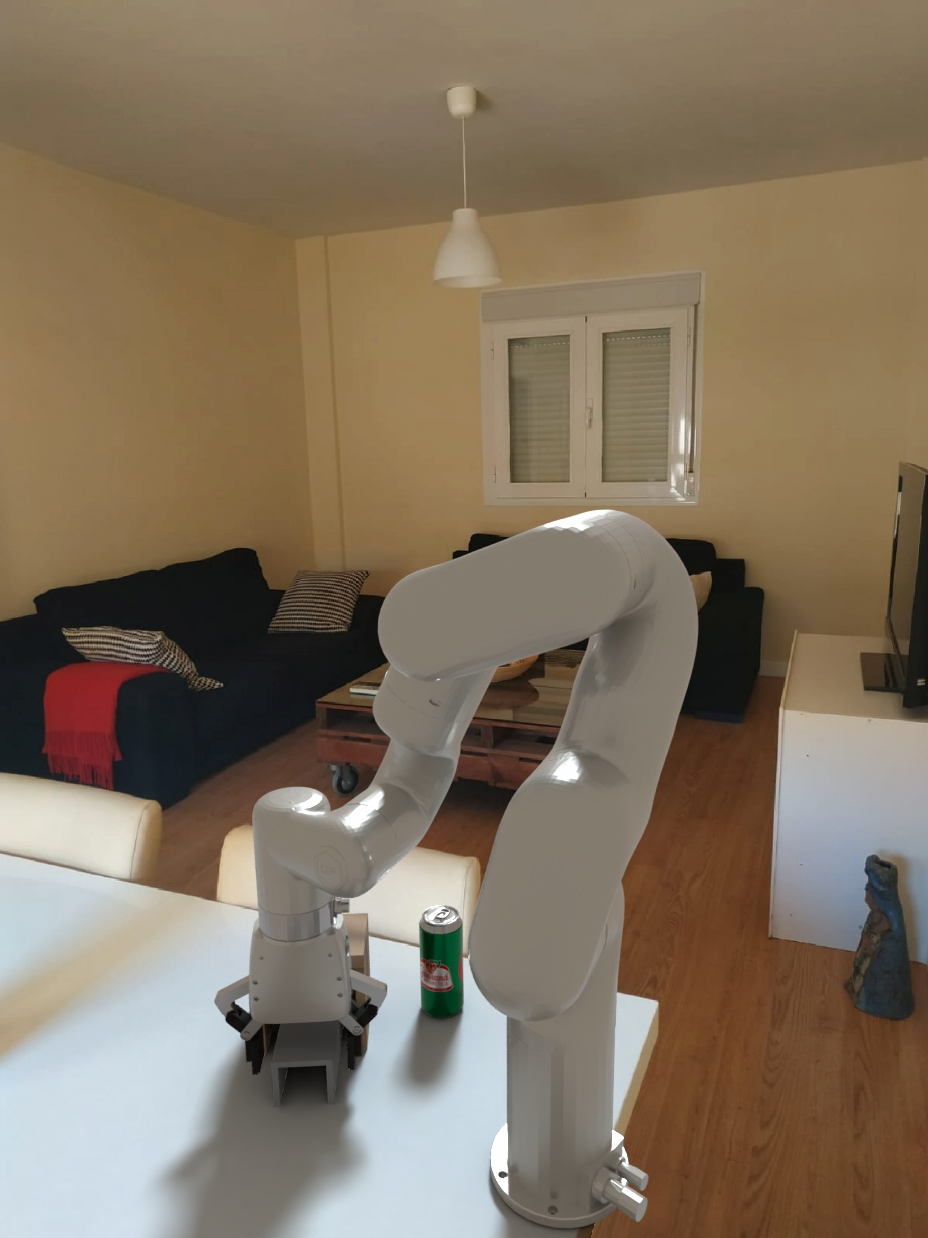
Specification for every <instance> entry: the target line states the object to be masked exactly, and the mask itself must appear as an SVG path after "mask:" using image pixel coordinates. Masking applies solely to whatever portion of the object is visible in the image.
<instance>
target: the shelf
mask: <svg viewBox="0 0 928 1238" xmlns="http://www.w3.org/2000/svg"><path fill="white" fill-rule="evenodd" d="M342 915H343V918H344V921H345V925H346V929H347V933H348V939H349V945H350V952H351V962H352V970H354V971H357V972H359V973H362V974H364V975H366V976H369V977H371V962H370V960H371V959H370V956H371V955H370V935H369V934H370V933H369V932H370V931H369V912H365V913H364V912H361V913H360V912H359V913H342ZM351 998H352V999H353V1000H354V1001H355V1002H356V1003H357V1004H358V1005H359V1006H360V1007H361V1006H362V1005H363V1004H364V1003H365V1002H366V1001H367V1000H368V999H369V998H370V996H369V995H366V994H364V993H361V992H359V991H356V990H354V989H353V993H352V995H351ZM274 1025H275V1024H263V1038H264V1055H267V1054H268V1049H269V1046H270V1042H271V1036H272V1033H273V1029H274ZM369 1034H370V1022H369V1023H368V1024H367V1025H366V1026H365V1027H364V1028H363V1032H362V1051H363V1050H368V1046H369V1045H368V1044H369Z"/></svg>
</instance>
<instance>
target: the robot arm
mask: <svg viewBox="0 0 928 1238" xmlns="http://www.w3.org/2000/svg"><path fill="white" fill-rule="evenodd" d="M696 599H697V598H696V594H695V590H694V587H693V583H692V580H691V578H690V575H689V573H688V570H687V568H686V566H685V564H684V562H683V560H681V557H680V556H679V554H678V553H677V551H676V550H675V549H674V548H673V546H672V545H671V544H670V543H669V542H668V541H667V540H666V538H665V537H664V536H663V535H662V534H661V533H659V532H658V531H657V530H656V529H655V528H653V526H651V525H650V524H648V522H646V521H644V520H642V519H641V518H639V517H637V516H634V515H632V514H630V513H626V512H625V511H619V510H614V509H597V510H596V509H595V510H590V511H586V512H585V511H584V512H582V513H577V514H574V515H572V516H569V517H568V516H567V517H565V518H561V519H557V520H553V521H550V522H547V523H545V524H541V525H539V526H536V527H534V528H531V529H529V530H526V531H524V532H523V531H522V532H521V533H518V534H516V535H512V536H510V537H508V538H506V539H503V540H501V541H497V542H496V543H493V544H490V545H488V546H484V547H482V548H479V549H476V550H475V551H472V552H470V553H467V554H464V555H462V556H460V557H457V558H454V559H451V560H448V561H445V562H442V563H440V564H436V565H433V566H429V567H426V568H423V569H419V570H417V571H414V572H412V573H410V574H408V575H406V576H403V578H402V579H400V580H399V581H398V582H397V583H395V585H394V586H393V587H392V588H391V589H390V590H389V592H388V593H387V595H386V597H385V599H384V600H383V603H382V605H381V608H380V610H379V611H380V612H379V614H378V620H377V621H378V622H377V634H378V640H379V644H380V645H379V646H380V647H381V650H382V652H383V654H384V656H385V658H386V659H387V661H388V663H389V664H390V665H389V667H388V669H387V671H386V673H385V675H384V677H383V679H382V681H381V684H380V686H379V688H378V690H377V692H376V694H375V697H374V700H373V703H372V715H373V717H374V720H375V723H376V724H377V726H378V727H379V729H380V730H381V731H382V732H383V733H384V734H385V735H386V736H388V737H389V738H390V741H389V744H388V747H387V750H386V752H385V754H384V756H383V759H382V761H381V763H380V765H379V767H378V769H377V772H376V774H375V775H374V778H373V780H372V781H371V783H370V784H369V785H368V787H367V788H366V789H365V790H363V791H362V792H361V793H360V792H359V794H358V795H356V796H355V797H354V798H352V799H351V800H349V801H348V802H347V803H346V804H344V805H342V806H341V807H339V808H336V809H333V810H332V811H331V805H330V802H329V800H328V798H327V796H326V795H325V794H324V793H323V792H321V791H319V790H318V789H314V788H311V787H308V786H307V787H306V786H289V787H281V788H278V789H274V790H271V791H269V792H267V793H266V794H264V795H262V796H261V797H260V798H258V800H256V803H255V804H254V807H253V810H252V816H251V817H252V818H251V819H252V820H251V821H252V833H253V834H252V836H253V850H254V852H253V853H254V865H255V866H254V867H255V882H256V898H257V912H258V917H257V918H256V919H255V921H254V923H253V927H252V934H251V942H250V951H249V964H248V965H249V966H248V967H249V970H248V975H246V976H244V977H242V978H241V979H239V980H236V981H235V982H233V983H231V984H229V985H227V986H225V987H223V988H221V989H219V990H218V991H217V992H216V994H215V998H214V1001H213V1002H214V1004H215V1006H216V1008H218V1010H219V1012H220V1013H221V1015H222V1016H224V1021H225V1023H226V1024H228V1025H229V1026H230V1027H231V1028H232V1029H234V1030H235V1031H236V1032H238V1033H239V1036H240V1039H241V1040H242V1041H244V1050H245V1061H246V1063H251V1074H252V1076H258V1075H259V1074H261V1071H262V1066H263V1061H264V1058H265V1054H264V1038H263V1024H274V1025H275V1024H276V1025H279V1024H281V1023H304V1022H323V1021H335V1020H339V1021H340V1022H341V1023H342V1024H343V1025H344V1026H343V1027H345V1028H346V1029H347V1030H346V1037H345V1038H346V1039H345V1040H346V1059H347V1060H346V1061H347V1064H346V1065H347V1070H349V1071H355V1069H356V1059H357V1058H358V1057H359V1058H360V1057H361V1058H362V1056H363V1050H362V1032H363V1028H364V1027H365V1026H366V1025H367V1024H368V1023H369V1024H370V1022H372V1021H373V1019H375V1018H376V1017H377V1015H378V1012H379V1010H380V1008H381V1007H382V1005H383V1004H384V1001H385V999H386V998H387V995H388V984H387V983H385V982H383V981H381V980H379V979H376V978H373V977H371V976H370V977H369V976H366V975H364V974H362V973H359V972H357V971H354V970H352V962H351V952H350V945H349V939H348V933H347V929H346V925H345V921H344V918H343V915H342V914H350V911H351V906H350V905H351V904H350V903H351V901H350V899H354V898H358V897H361V896H363V895H365V894H366V893H368V892H369V891H370V890H371V889H373V887H375V886H376V885H377V884H378V883H379V882H380V881H381V880H382V879H383V878H384V877H386V876H387V875H388V874H389V872H390V871H392V869H393V868H394V867H396V865H398V863H400V861H402V860H403V859H404V858H405V857H406V856H407V855H408V854H409V853H410V852H411V851H413V850H414V849H415V848H416V847H417V846H418V844H420V842H421V841H422V840H423V839H424V836H426V833H427V832H428V831H429V828H430V827H431V825H432V823H433V821H434V819H435V817H436V815H437V813H438V811H439V809H440V807H441V805H442V803H443V802H444V800H445V798H446V796H447V793H448V792H449V789H450V787H451V784H452V782H453V781H454V778H455V774H456V771H457V767H458V763H459V758H460V755H461V744H462V741H463V738H464V737H465V735H466V733H467V730H468V728H469V726H470V724H471V722H472V721H473V718H474V716H475V715H476V714H475V713H476V712H477V710H478V707H479V706H480V703H481V702H482V700H483V698H484V695H485V693H486V692H487V689H488V688H489V685H490V684H491V682H492V679H493V677H494V675H495V673H496V672H497V670H498V668H499V667H501V666H505V665H508V664H511V663H514V662H517V661H520V660H524V659H528V658H530V657H533V656H537V655H541V654H544V653H547V652H551V651H554V650H557V649H561V648H564V647H567V646H570V645H573V644H576V643H578V642H582V641H584V640H587V639H588V644H587V647H586V650H585V653H584V655H583V658H582V660H581V662H580V665H579V667H578V670H577V672H576V675H575V679H574V682H573V686H572V689H571V693H570V694H571V695H570V698H569V702H568V705H567V709H566V712H565V715H564V718H563V721H562V724H561V727H560V730H559V732H558V735H557V738H556V740H555V741H554V745H553V747H552V748H551V750H550V751H549V753H548V754H547V756H546V757H544V759H543V760H542V762H540V764H539V765H537V767H536V769H535V770H533V772H532V773H531V774H530V775H529V776H528V777H527V778H526V779H525V780H524V781H523V783H521V785H520V786H519V787H518V789H517V790H516V792H515V793H514V794H513V796H512V797H511V799H510V801H509V803H508V805H507V806H506V809H505V811H504V814H503V816H502V818H501V820H500V821H499V822H500V823H499V826H498V828H497V831H496V834H495V838H494V842H493V844H492V847H491V852H490V856H489V859H488V862H487V866H486V869H485V874H484V876H483V880H482V884H481V888H480V891H479V895H478V898H477V902H476V905H475V908H474V911H473V914H472V915H473V916H472V919H471V923H470V927H469V933H468V937H467V938H468V939H467V956H468V964H469V965H468V966H469V969H470V971H471V975H472V978H473V980H474V983H475V985H476V987H477V988H478V990H479V992H480V993H481V995H482V996H483V997H484V999H485V1000H486V1001H487V1002H488V1003H489V1005H491V1006H492V1007H493V1008H494V1009H495V1010H497V1011H498V1012H499V1013H501V1014H503V1015H504V1016H506V1123H505V1124H504V1125H503V1126H502V1127H501V1128H500V1129H499V1131H498V1133H497V1134H496V1136H495V1137H494V1139H493V1142H492V1143H491V1144H492V1145H491V1148H490V1154H489V1155H490V1156H489V1157H490V1158H489V1165H490V1166H489V1167H490V1168H489V1170H490V1176H491V1181H492V1183H493V1186H494V1188H495V1190H496V1192H497V1194H498V1195H499V1196H500V1198H501V1199H502V1200H503V1201H504V1203H505V1204H506V1205H507V1206H508V1207H510V1209H512V1210H513V1211H514V1212H515V1213H517V1214H518V1215H520V1216H521V1217H523V1218H525V1219H526V1220H528V1221H531V1222H534V1223H536V1224H538V1225H541V1226H545V1227H550V1228H555V1229H574V1228H575V1229H576V1228H583V1227H586V1226H589V1225H593V1224H596V1223H598V1222H600V1221H602V1220H603V1219H605V1218H606V1217H608V1216H610V1214H612V1213H613V1212H614V1211H616V1209H618V1210H619V1212H621V1213H623V1214H624V1215H626V1216H628V1217H629V1218H630V1219H632V1220H633V1221H635V1222H637V1223H639V1222H640V1221H641V1220H642V1219H643V1217H644V1216H645V1214H646V1211H647V1207H648V1203H649V1202H648V1198H647V1197H645V1196H644V1195H642V1194H641V1193H640V1192H637V1191H636V1190H634V1188H632V1187H630V1186H629V1185H632V1186H633V1187H635V1188H637V1190H639V1191H641V1192H643V1191H645V1189H646V1187H647V1185H648V1183H649V1174H647V1173H645V1172H644V1171H643V1170H641V1169H640V1168H638V1167H636V1166H633V1165H631V1164H629V1158H628V1154H627V1151H626V1150H625V1147H624V1136H623V1135H621V1134H620V1133H618V1132H616V1131H615V1130H613V1127H614V1126H613V1125H614V1124H613V1123H614V1119H613V1118H614V1090H615V1089H614V1085H615V1050H616V1048H615V1046H616V1045H615V1044H616V1043H615V1042H616V1026H617V1004H618V1003H617V1001H618V1000H617V995H618V979H619V969H620V968H619V967H620V957H621V949H622V939H623V933H624V932H623V931H624V930H623V929H624V921H625V906H626V905H625V891H624V887H623V884H622V879H623V878H624V875H625V872H626V870H627V867H628V865H629V862H630V860H631V859H632V857H633V855H634V853H635V851H636V849H637V847H638V844H640V843H639V842H640V841H641V839H642V837H643V835H644V833H645V830H646V828H647V825H648V824H649V821H650V818H651V813H652V809H653V804H654V800H655V796H656V791H657V788H658V784H659V781H660V778H661V773H662V770H663V769H664V765H665V763H666V762H665V761H666V758H667V755H668V753H669V749H670V746H671V743H672V740H673V738H674V734H675V730H676V726H677V722H678V719H679V716H680V712H681V710H682V707H683V703H684V700H685V696H686V693H687V690H688V687H689V683H690V680H691V676H692V673H693V668H694V664H695V658H696V655H697V654H696V653H697V648H698V639H699V638H698V637H699V636H698V635H699V615H698V613H699V612H698V606H697V605H698V604H697V600H696ZM353 989H354V990H356V991H359V992H361V993H364V994H366V995H369V996H370V998H369V999H368V1000H367V1001H366V1002H365V1003H364V1004H363V1005H362V1006H361V1007H360V1006H359V1005H358V1004H357V1003H356V1002H355V1001H354V1000H353V999H352V998H351V995H352V993H353ZM247 995H248V1007H249V1008H248V1009H249V1011H246V1010H245V1009H244V1008H243V1007H241V1006H240V1005H239V1004H237V1003H236V1001H237V1000H239V999H241V998H242V997H243V998H244V996H247Z"/></svg>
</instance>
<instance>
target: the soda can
mask: <svg viewBox="0 0 928 1238" xmlns="http://www.w3.org/2000/svg"><path fill="white" fill-rule="evenodd" d="M418 928H419V929H418V933H419V934H418V935H419V936H418V937H419V940H418V941H419V971H420V972H419V973H420V974H419V975H420V976H419V979H420V1005H421V1008H422V1010H423V1011H424V1012H425V1013H426V1014H427V1015H429V1016H431V1017H433V1018H437V1019H446V1018H447V1019H448V1018H450V1017H453V1016H455V1015H456V1014H458V1013H459V1012H460V1011H461V1010H462V1008H463V1006H464V1003H465V997H464V995H465V994H464V993H465V992H464V989H465V987H464V931H463V930H464V924H463V919H462V918H461V916H460V912H459V910H458V909H456V908H455V907H453V906H451V905H447V904H446V905H445V904H439V905H433V906H430V907H427V908H426V909H424V911H423V912H422V915H421V918H420V919H419V923H418Z"/></svg>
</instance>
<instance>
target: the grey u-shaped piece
mask: <svg viewBox="0 0 928 1238" xmlns="http://www.w3.org/2000/svg"><path fill="white" fill-rule="evenodd" d="M344 1027H345V1026H344V1025H343V1024H342V1023H341V1022H340V1021H339V1020H335V1021H323V1022H304V1023H281V1024H280V1025H279V1029H278V1033H277V1037H276V1042H275V1047H274V1050H273V1053H272V1059H271V1076H272V1077H271V1079H272V1093H273V1106H274V1107H281V1103H282V1101H283V1094H284V1088H285V1085H286V1080H287V1074H288V1069H289V1068H299V1067H301V1068H302V1067H318V1066H319V1067H320V1066H325V1071H326V1088H327V1089H326V1091H327V1104H335V1098H336V1090H337V1081H338V1074H339V1066H340V1065H339V1064H340V1060H341V1059H340V1057H341V1050H342V1049H341V1048H342V1041H343V1034H344V1033H343V1032H344Z"/></svg>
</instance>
